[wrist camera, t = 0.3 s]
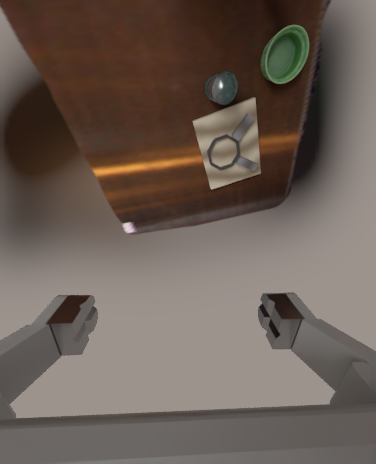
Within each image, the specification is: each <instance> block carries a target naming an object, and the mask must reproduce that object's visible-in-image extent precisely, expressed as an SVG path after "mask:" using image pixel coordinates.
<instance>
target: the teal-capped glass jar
mask: <svg viewBox="0 0 376 464" xmlns="http://www.w3.org/2000/svg"><path fill="white" fill-rule="evenodd" d="M237 90H238V82H237V79H236V77H235V75H234V74H233V73H231V72H228V71H225V72H221V73H219V74H213V75H211V76H210V77H209V78H208V79H207V81H206V84H205V94H206V96H207V98H208V99H209V100H211V101H214V102H216V103H218V104H221V105H226V104H228V103H230V102H231V101H232V100H233V99H234V98H235V96H236V94H237Z"/></svg>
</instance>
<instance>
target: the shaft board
mask: <svg viewBox="0 0 376 464" xmlns="http://www.w3.org/2000/svg"><path fill="white" fill-rule="evenodd" d="M193 125H194V129H195V133H196V136H197V140H198V144H199V147H200V151H201V155H202V159H203V162H204V166H205V170H206V173H207V177H208V181H209V185H210V188H211V190H212V189H215V188H218V187H221V186H224V185H227V184H230V183H233V182H236V181H239V180H242V179H245V178H248V177H252V176H255V175H258V174H261V168H260V154H259V140H258V126H257V112H256V98H255V97H253V98H250V99H248V100H245V101H243V102H240V103H237V104H235V105H232V106H230V107H227V108H225V109H222V110H219V111H217V112H214V113H212V114H209V115H207V116H204V117H201V118H199V119H196V120H194V121H193Z"/></svg>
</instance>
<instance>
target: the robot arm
mask: <svg viewBox="0 0 376 464" xmlns="http://www.w3.org/2000/svg"><path fill="white" fill-rule="evenodd" d="M261 301H262V304H261V305H260V306H259V309H258V318H259V321H260V324H261V326H262V327H263V328H264V329H265V330H267V334H266V337H267V339H268V340H269V343H270V344H271V347H272V349H291V350H292V351H293V352H294V353H295V354H296V355H297V356H298V357H299V358H300V359H301V360H303V362H304V363H306V364H307V365H308V366H309V367H310V368H311V369H312V370H313V371H314V372H315V373H316V374H317V375H319V376H320V377H321V378H322V379H323V380H324V381H325V382H326V383H327V384H328V385H329V386H330V387H332V388H333V389H334V390H335V393H334V395H333V397H332V398H331V400H330V404H329V405H307V406H285V407H261V408H239V409H217V410H216V409H215V410H193V411H172V412H149V413H129V414H128V413H127V414H106V415H85V416H84V415H83V416H61V417H39V418H17V419H16V414H15V412H14V411H13V409H12V408H11V406H10V403H11V402H13V401H14V400H15V399H16V398H17V397H18V396H19V395H20V394H21V393H22V392H23V391H24V390H26V389H27V388H28V387H29V386H30V385H31V384H32V383H33V382H34V381H35V380H36V379H37V378H38V377H40V376H41V375H42V374H43V373H44V372H45V371H46V370H47V369H48V368H49V367H50V366H51V365H52V364H53V363H55V362H56V361H57V360H58V359H59V358H60V357H61V356H63V355H80V354H82V353H83V351H84V349H85V347H86V345H87V343H88V341H89V338H88V334H90V333H91V332H92V331H93V330H94V328H95V326H96V323H97V319H98V312H97V309H96V308H95V307H94V306H93V305H94V303H95V299H94V296H91V295H58V296H56V297H55V298H54V299H53V300H52V301H51V303H50V304H49V305H48V306H47V307H46V308H45V310H44V311H43V312H42V313H41V314H40V315H39V316H38V318H37V319H36V320H35V321H34V322H33V323H32V324H31V325H26V326H25V327H23V328H21V329H19V330H17V331H16V332H14V333H12V334H11V335H9V336H8V337H5V338H4V339H2V340H0V464H376V351H374V350H373V349H371V348H369V347H368V346H366V345H364V344H362V343H361V342H359V341H357V340H356V339H354V338H352V337H350V336H349V335H347V334H345V333H344V332H342V331H340V330H338V329H337V328H335V327H333V326H332V325H330V324H328V323H326V322H325V321H323V320H321V319H317V318H316V317H315V316H314V315H313V314H312V312H311V311H310V310H309V309H308V307H306V305H305V304H304V303H303V302H302V300H301V299H300V298H299V297H298V296H297V295H296V294H295V293H263V294H262V296H261Z"/></svg>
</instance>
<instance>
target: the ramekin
mask: <svg viewBox="0 0 376 464" xmlns="http://www.w3.org/2000/svg"><path fill="white" fill-rule="evenodd" d="M308 52H309V38H308V34H307V32H306V31H305V29H304V28H303V27H301V26H299V25H290V26H287V27H285V28H283V29H282V30H280V31H279V32H278V33H277V34H276V35H275V36H274V37H272V39H270V41H269V42H268V43H267V45H266V46H265V48H264V50H263V53H262V57H261V71H262V74H263V76H264V77H265V78H266V79H267V80H269V81H272V82H273V83H276V84H284V83H287V82H289V81H291V80H292V79H293V78H295V77H296V76H297V75H298V73H299V72H300V71H301V69H302V68H303V66H304V64H305V62H306V59H307V56H308Z"/></svg>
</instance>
